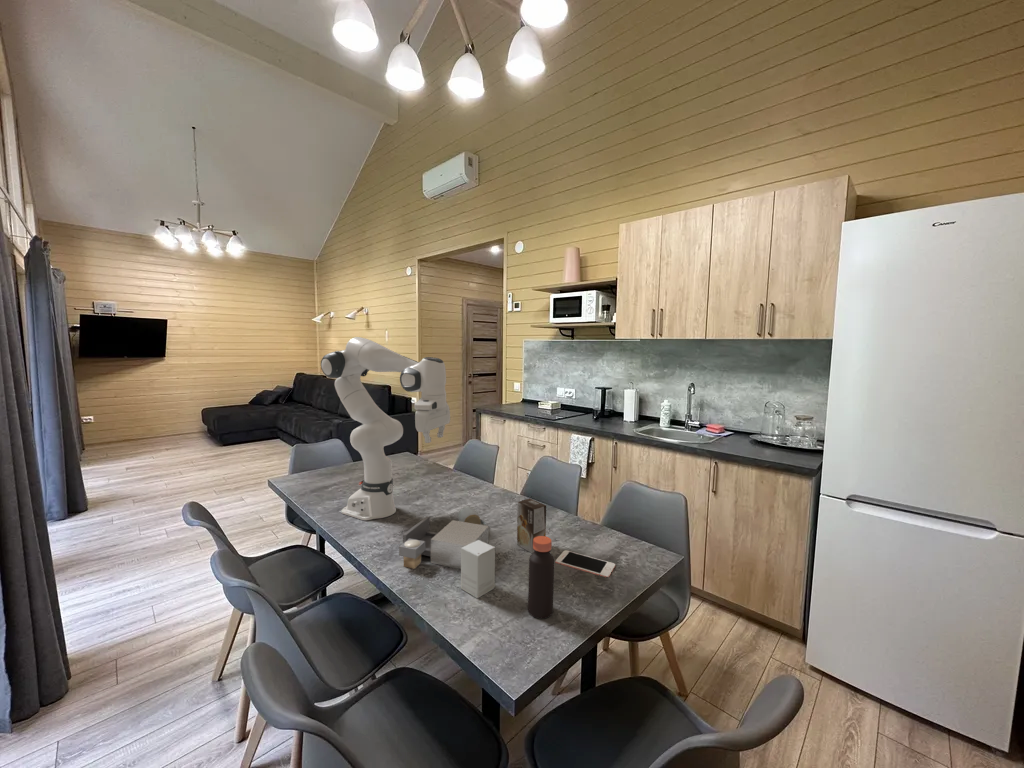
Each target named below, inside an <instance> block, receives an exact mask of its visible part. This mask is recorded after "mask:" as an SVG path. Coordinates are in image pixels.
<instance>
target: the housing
mask: <svg viewBox="0 0 1024 768" xmlns="http://www.w3.org/2000/svg"><path fill="white" fill-rule="evenodd" d="M489 531H490V530H489V525H486V526H485V525H479V524H473V523H467V522H461V521H458V520H454V519H452V520H451V521H450V522H449V523H448V524H446V526H444V527H443V528H442V529H441V530H440V531H439V532H437V534H436V535H435V536H434V537H433V538H432V539H431V556H430V564H435V565H439V566H445V567H448V568H449V567H450V568H454V569H460V570H461V548H462V547H464V546H466V545H468V544H470V543H473V542H475V541H477V540H480V541H482V542H484V543H487V544H489V536H490V535H489V533H490V532H489Z"/></svg>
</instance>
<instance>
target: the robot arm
mask: <svg viewBox="0 0 1024 768" xmlns="http://www.w3.org/2000/svg"><path fill="white" fill-rule="evenodd" d="M320 368H321V371H322V373H323V374H324V376H325V377H327V378H329V379H335V380H334V389H335V391H336V393H337V396H338V397H339V399H340V402H341V403H342V405H343V407H344V408H345V411H347V413H348V415H349V417H350V418H351V419H352V420H354V421H355V422H356V421H357V422H358V423H360V424H361V425H359V426H357V427H356V428H354V429H353V430H351V433H350V436H349V441H350V444H351V447H352V448H353V449H354V450H356V451H357V452H358V453H359V454H360V456H361V459H362V462H363V471H364V472H363V473H364V474H363V475H364V478H363V479H362V480H361V481H359V482H358V486H361V487H360V488H359V489H358V490H356V491H355V492H354V493H352V494H351V495H350V496H349V497H348V498H347V505H346V506H345V507H343V508H342V509H341V514H342V515H345V516H348V517H352V518H355V519H358V520H361V521H371V520H375V519H376V520H377V519H383V518H387V517H391V516H393V514H395V513H396V512H397V508H396V504H395V501H394V494H393V492H394V491H393V490H394V478H393V462H392V460H391V458H390V457H388V456H386V454H385V450H384V447H386V446H390V445H392V444H394V443H396V442H397V441H399V440H400V439H401V438H403V434H404V426H403V425H402V423H401V421H399V420H398V419H396V418H394V417H393V418H392V417H391V416H389V415H388V414H387V413H385V412H384V411H383V410H382V409H381V408H380V407H379V406H378V405H377V404H376V402H375V401H374V400H373V398H372V397H371V395H370V393H369V392H368V390H367V389H366V387H365V386H364V384H363V383H362V380H361V377H366V376H367V375H368V372H369V371H370V372H371V371H372V372H375V373H392V372H393V373H400V375H399V382H400V386H401V387H402V389H403V390H404V391H406V392H409V393H416V392H421V394H420V395H421V396H420V398H419V400H417V401H416V402H415V403H414V406H413V407H414V410H416V411H415V413H414V414H415V415H414V420H415V421H414V423H415V429H416V431H417V432H420V433H422V435H423V437H424V443H425V444H429V443H431V442H432V437H431V436H430V434H431V431H432V430H435V429H437V428H438V432H436V433H437V434H436V435H437V436H436V437H437V438H439V439H440V438H443V437H444V432H445V429H446V425H448V424H450V422H451V411H450V405H449V404H448V402H447V391H446V384H447V370H446V364H445V362H444V360H443V359H441V358H438V357H432V356H425V357H423V358H422V359H421V360H420V361H416V360H414V359H413V358H410V357H407V356H405V355H401V354H400V353H398V352H396V351H393V350H392V349H390V348H388V347H385V346H384V345H381V344H380V343H378V342H376V341H373V340H371V339H369V338H365V337H360V336H355V337H352V338H351V339H349V340H348V341H347V343H346V345H345V349H343V350H335V351H332V352H329V353H326V354H325V355H323V356H322V358H321V361H320Z"/></svg>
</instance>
